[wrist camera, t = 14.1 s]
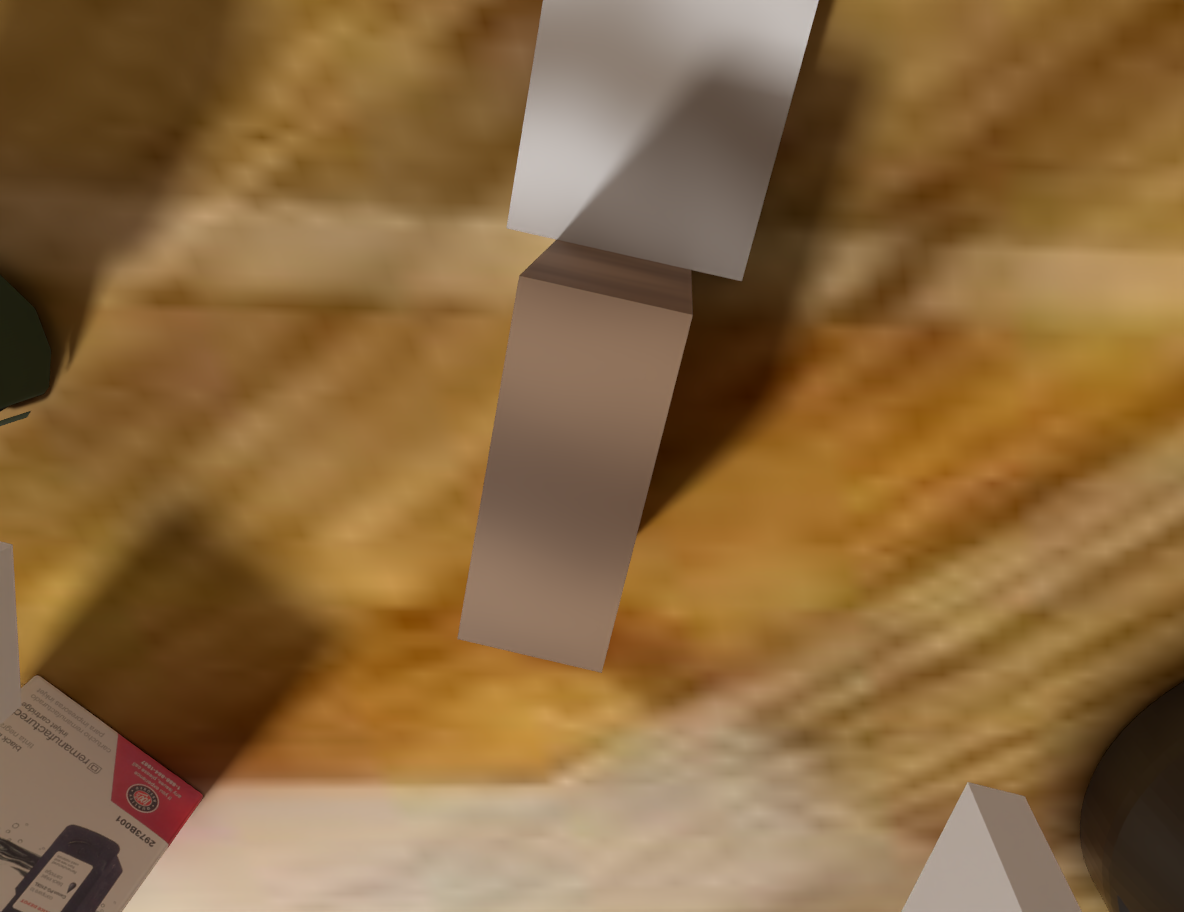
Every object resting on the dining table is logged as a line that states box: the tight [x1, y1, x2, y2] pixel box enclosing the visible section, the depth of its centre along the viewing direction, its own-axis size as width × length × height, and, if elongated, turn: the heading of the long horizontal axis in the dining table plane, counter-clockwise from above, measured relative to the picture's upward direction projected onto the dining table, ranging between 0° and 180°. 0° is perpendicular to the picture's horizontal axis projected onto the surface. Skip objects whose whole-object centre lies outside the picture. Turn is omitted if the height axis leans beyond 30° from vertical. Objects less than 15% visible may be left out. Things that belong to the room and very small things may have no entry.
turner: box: [458, 0, 819, 673], centre depth 23 cm, size 18×7×7 cm, turn 169°
